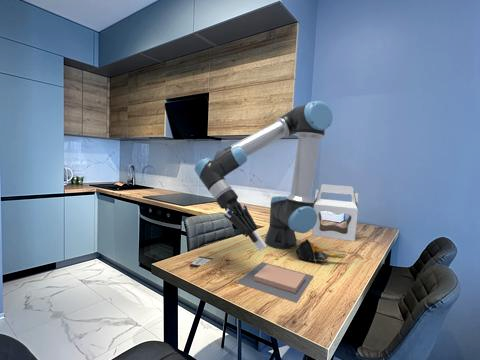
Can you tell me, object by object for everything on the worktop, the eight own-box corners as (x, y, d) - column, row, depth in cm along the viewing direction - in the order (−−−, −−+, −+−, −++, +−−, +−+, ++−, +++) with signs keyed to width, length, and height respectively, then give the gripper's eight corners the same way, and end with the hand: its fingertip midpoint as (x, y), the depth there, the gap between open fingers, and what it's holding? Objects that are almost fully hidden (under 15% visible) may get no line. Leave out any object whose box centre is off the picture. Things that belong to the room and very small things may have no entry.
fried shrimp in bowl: (291, 243, 111) (331, 231, 111) (300, 269, 108) (341, 257, 108) (295, 242, 102) (338, 229, 103) (305, 270, 99) (349, 257, 99)
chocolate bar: (237, 273, 89) (189, 265, 94) (236, 275, 89) (189, 267, 94) (243, 263, 98) (199, 256, 102) (243, 265, 98) (199, 258, 102)
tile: (267, 264, 93) (305, 274, 87) (267, 268, 94) (305, 279, 87) (254, 275, 84) (295, 288, 77) (253, 280, 84) (295, 293, 77)
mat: (261, 263, 100) (262, 261, 100) (313, 277, 90) (313, 275, 90) (235, 284, 82) (235, 282, 82) (296, 304, 72) (296, 302, 72)
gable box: (353, 234, 145) (358, 185, 142) (355, 241, 133) (360, 188, 130) (313, 229, 153) (316, 182, 150) (311, 235, 140) (315, 184, 138)
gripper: (226, 198, 101) (263, 248, 95) (207, 203, 90) (247, 260, 83) (239, 186, 98) (277, 237, 92) (220, 190, 87) (263, 248, 80)
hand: (263, 248), depth 88 cm, fingers closed
